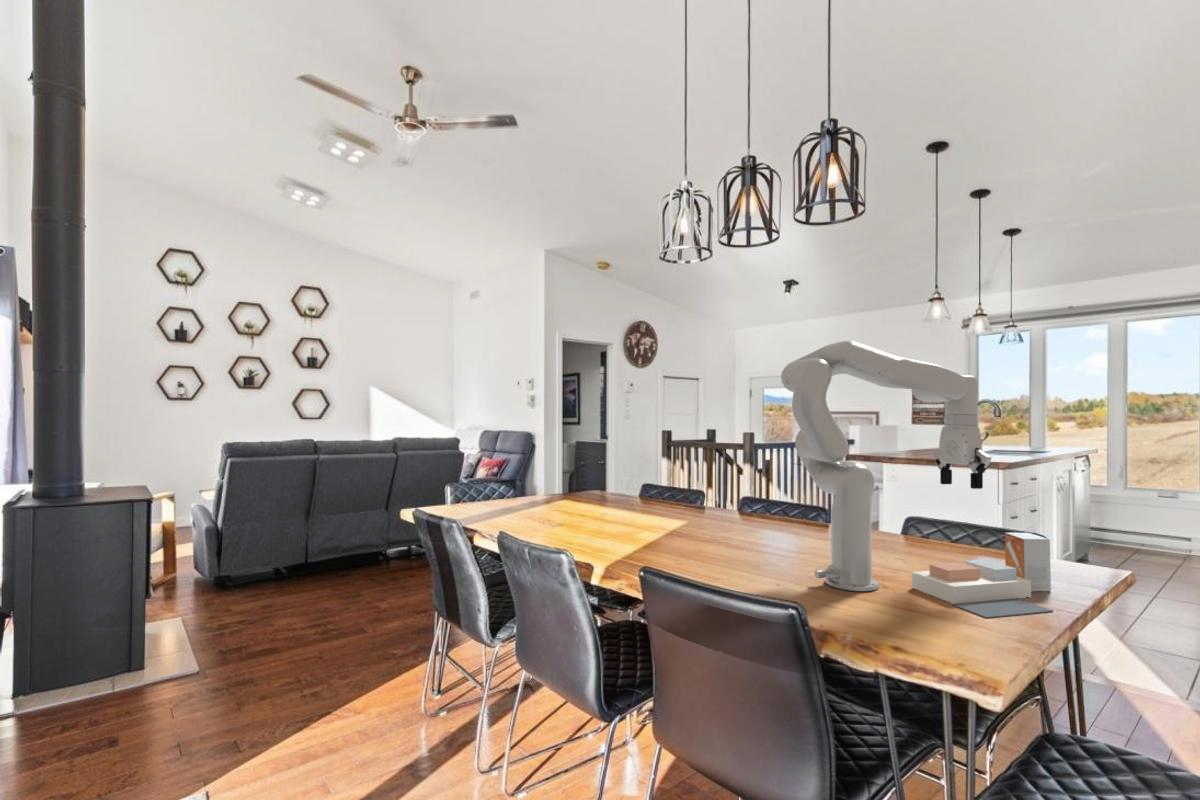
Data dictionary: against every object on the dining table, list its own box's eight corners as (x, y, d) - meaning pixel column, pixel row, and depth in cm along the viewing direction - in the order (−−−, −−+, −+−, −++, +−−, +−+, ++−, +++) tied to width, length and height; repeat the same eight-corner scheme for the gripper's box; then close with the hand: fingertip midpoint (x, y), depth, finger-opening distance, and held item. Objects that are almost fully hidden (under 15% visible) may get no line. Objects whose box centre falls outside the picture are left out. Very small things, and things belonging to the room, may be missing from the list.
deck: (954, 604, 136) (953, 586, 136) (912, 588, 148) (911, 572, 149) (1031, 597, 141) (1030, 580, 141) (984, 582, 153) (984, 566, 154)
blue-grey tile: (1016, 578, 142) (1016, 568, 142) (995, 580, 141) (995, 569, 141) (984, 569, 151) (984, 559, 151) (964, 570, 150) (964, 560, 150)
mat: (985, 618, 126) (985, 617, 126) (952, 605, 135) (952, 603, 135) (1053, 611, 130) (1053, 610, 130) (1016, 599, 139) (1016, 598, 139)
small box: (1005, 582, 153) (1004, 532, 154) (1030, 582, 153) (1029, 532, 153) (1024, 591, 145) (1023, 538, 146) (1051, 592, 145) (1050, 539, 145)
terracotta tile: (948, 581, 140) (948, 570, 140) (929, 574, 146) (929, 564, 146) (980, 578, 142) (980, 568, 142) (959, 572, 148) (959, 562, 148)
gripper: (924, 421, 164) (923, 482, 164) (977, 422, 148) (977, 490, 147) (946, 421, 166) (946, 482, 166) (1001, 422, 149) (1001, 490, 149)
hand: (960, 486), depth 157 cm, fingers open, 9 cm apart
